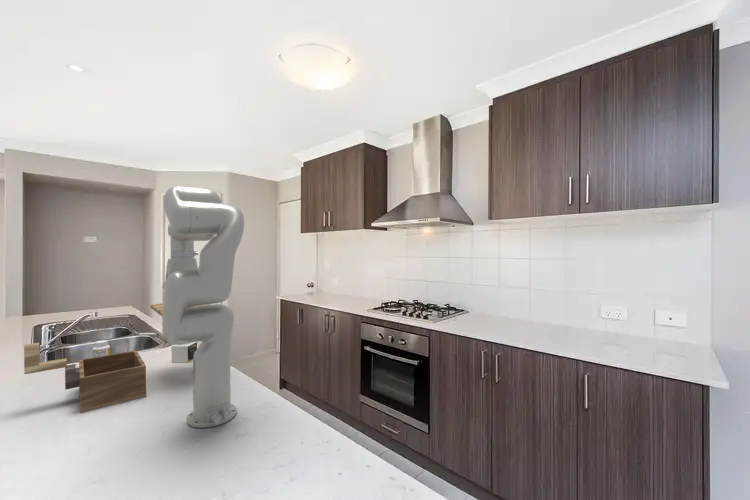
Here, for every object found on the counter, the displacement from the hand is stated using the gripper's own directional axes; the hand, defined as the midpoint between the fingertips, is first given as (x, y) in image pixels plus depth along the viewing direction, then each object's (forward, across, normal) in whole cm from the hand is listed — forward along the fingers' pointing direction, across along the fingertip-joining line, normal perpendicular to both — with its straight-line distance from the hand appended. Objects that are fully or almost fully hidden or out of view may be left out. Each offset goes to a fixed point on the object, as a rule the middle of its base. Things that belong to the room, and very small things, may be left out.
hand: (182, 304), depth 126 cm
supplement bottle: (+27, +22, -34) cm, 49 cm away
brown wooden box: (+27, +23, 0) cm, 35 cm away
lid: (+2, 0, 0) cm, 2 cm away
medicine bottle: (+27, -5, -21) cm, 35 cm away
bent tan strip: (+15, +36, 0) cm, 40 cm away
